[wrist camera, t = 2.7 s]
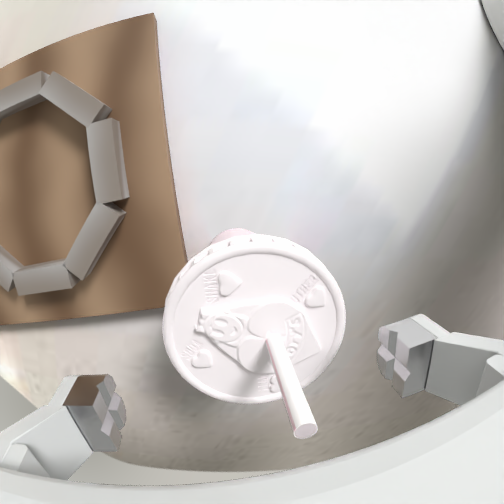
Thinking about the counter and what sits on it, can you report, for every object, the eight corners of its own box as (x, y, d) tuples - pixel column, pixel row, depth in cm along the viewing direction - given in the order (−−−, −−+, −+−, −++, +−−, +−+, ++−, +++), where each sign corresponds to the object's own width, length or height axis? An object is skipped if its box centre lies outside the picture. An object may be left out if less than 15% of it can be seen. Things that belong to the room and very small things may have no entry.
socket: (156, 20, 15) (149, 1, 13) (194, 295, 20) (192, 313, 17) (-47, 105, 14) (-67, 102, 11) (-11, 320, 18) (-28, 334, 16)
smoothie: (267, 316, 21) (337, 498, 7) (172, 290, 20) (122, 477, 6) (302, 224, 19) (456, 328, 6) (202, 191, 18) (167, 247, 5)
